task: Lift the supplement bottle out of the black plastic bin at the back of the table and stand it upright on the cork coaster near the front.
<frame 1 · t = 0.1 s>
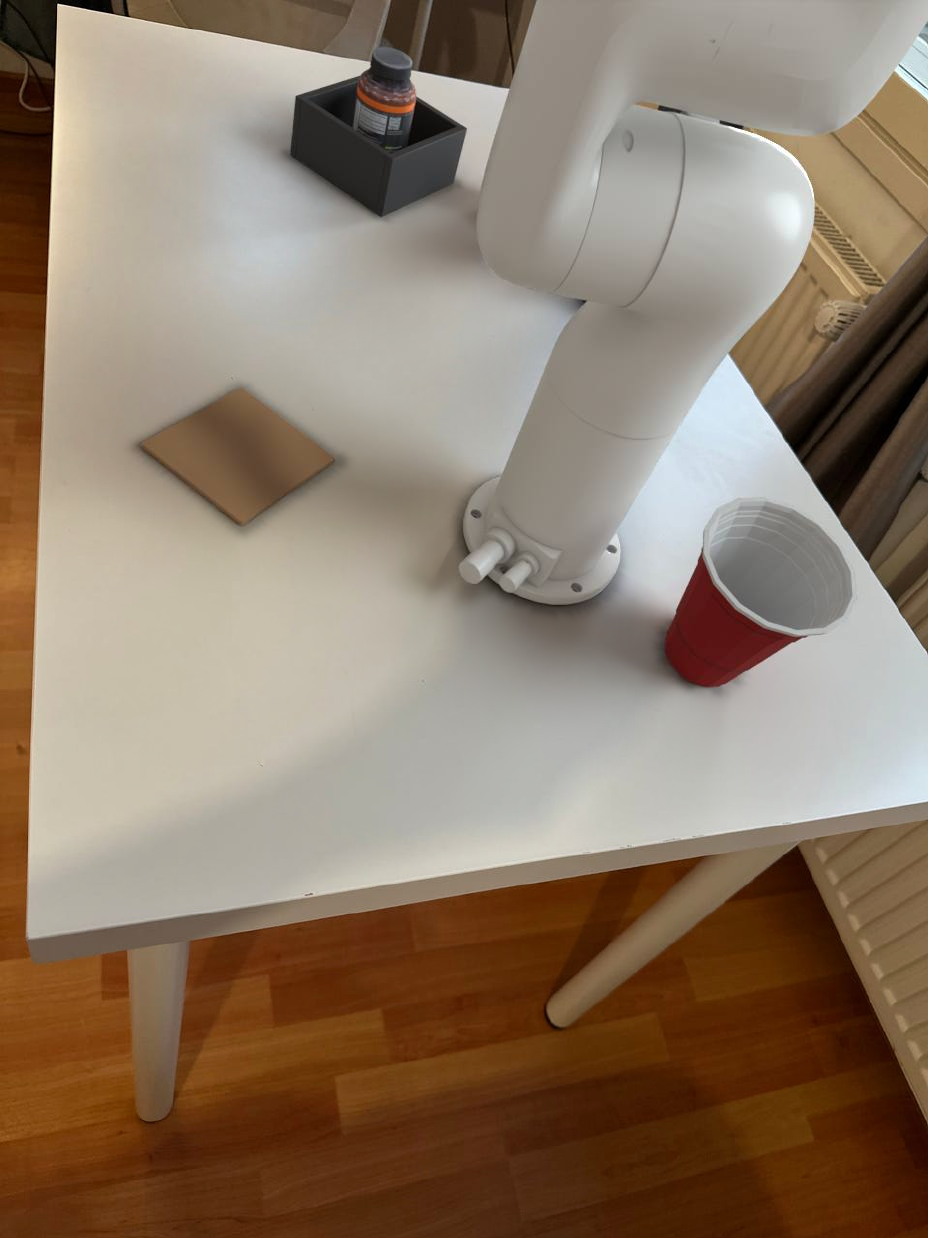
pepper mill: (519, 223, 95), on the table
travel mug: (613, 309, 90), on the table
coaster: (241, 454, 66), on the table
bin: (373, 169, 94), on the table
supplement bottle: (373, 170, 94), resting in bin
plastic cup: (697, 658, 66), on the table
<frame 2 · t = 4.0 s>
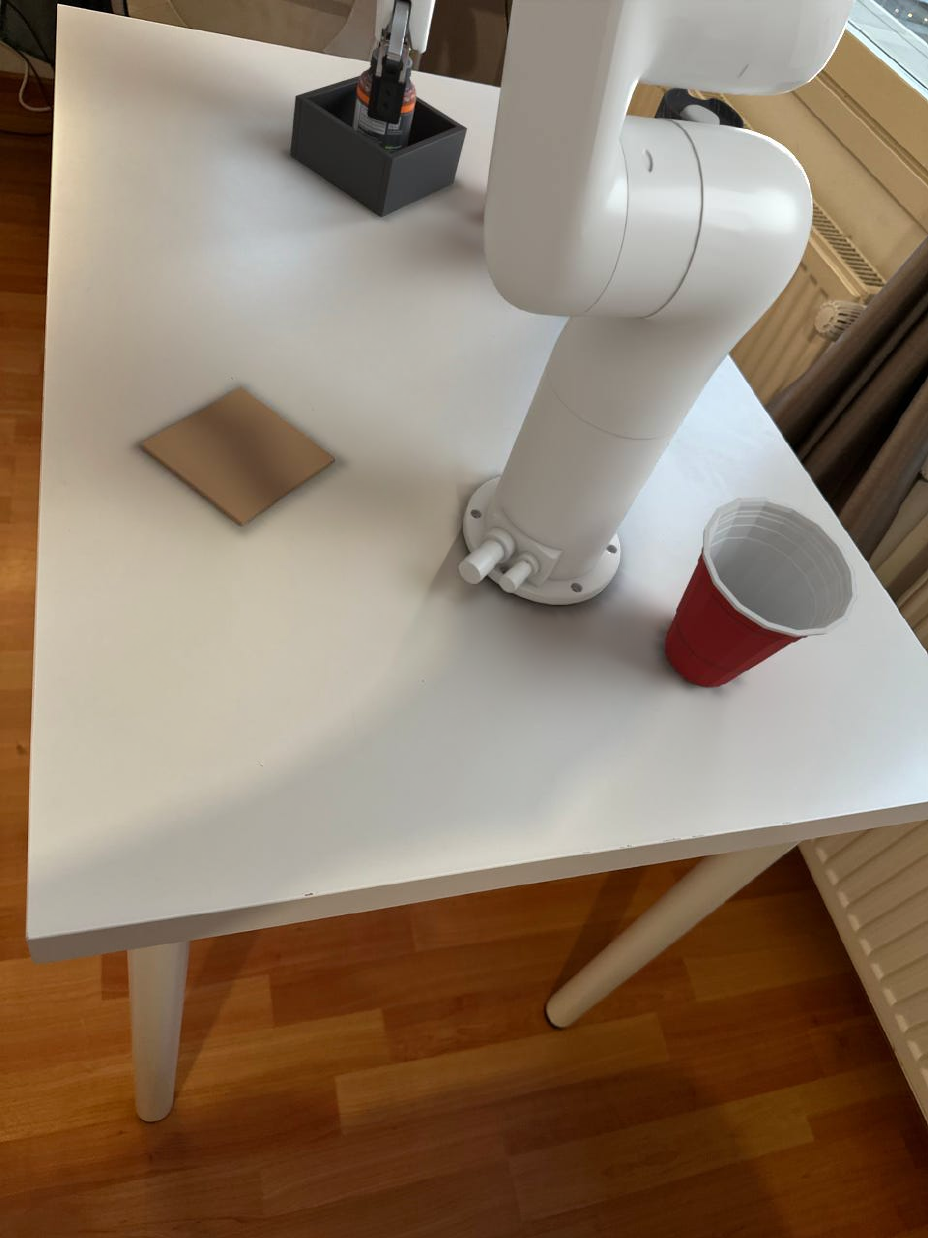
hand: (385, 102, 88), 7 cm above the table, tool pointing down, fingers closed on supplement bottle, 6 cm apart
supplement bottle: (373, 170, 94), resting in bin, touching gripper
everything else where it was.
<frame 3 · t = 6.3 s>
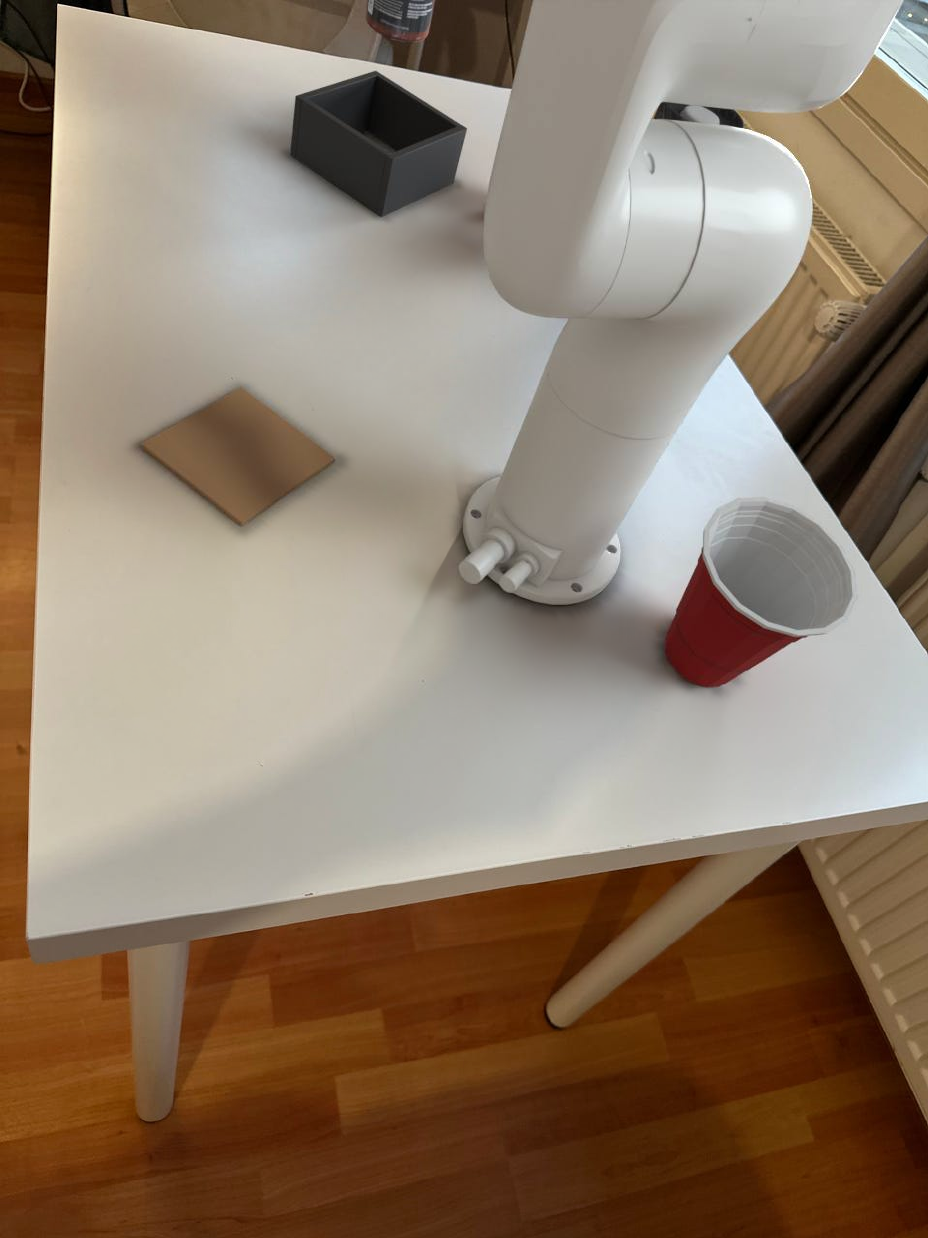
supplement bottle: (395, 32, 81), point 14 cm above the table, touching gripper
everything else where it was.
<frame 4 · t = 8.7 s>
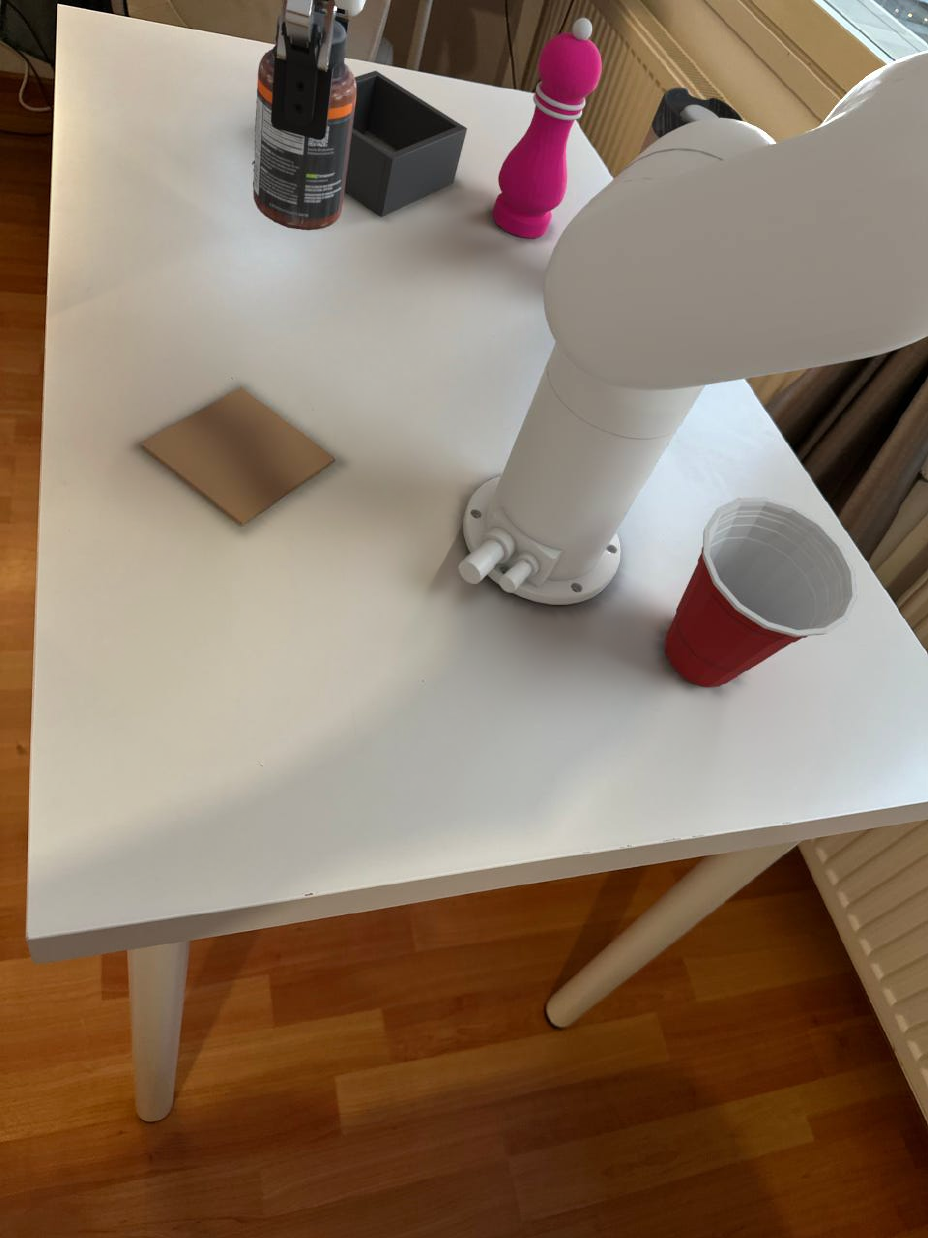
hand: (307, 103, 54), 22 cm above the table, tool pointing down, fingers closed on supplement bottle, 6 cm apart
supplement bottle: (296, 211, 59), point 15 cm above the table, touching gripper
everything else where it was.
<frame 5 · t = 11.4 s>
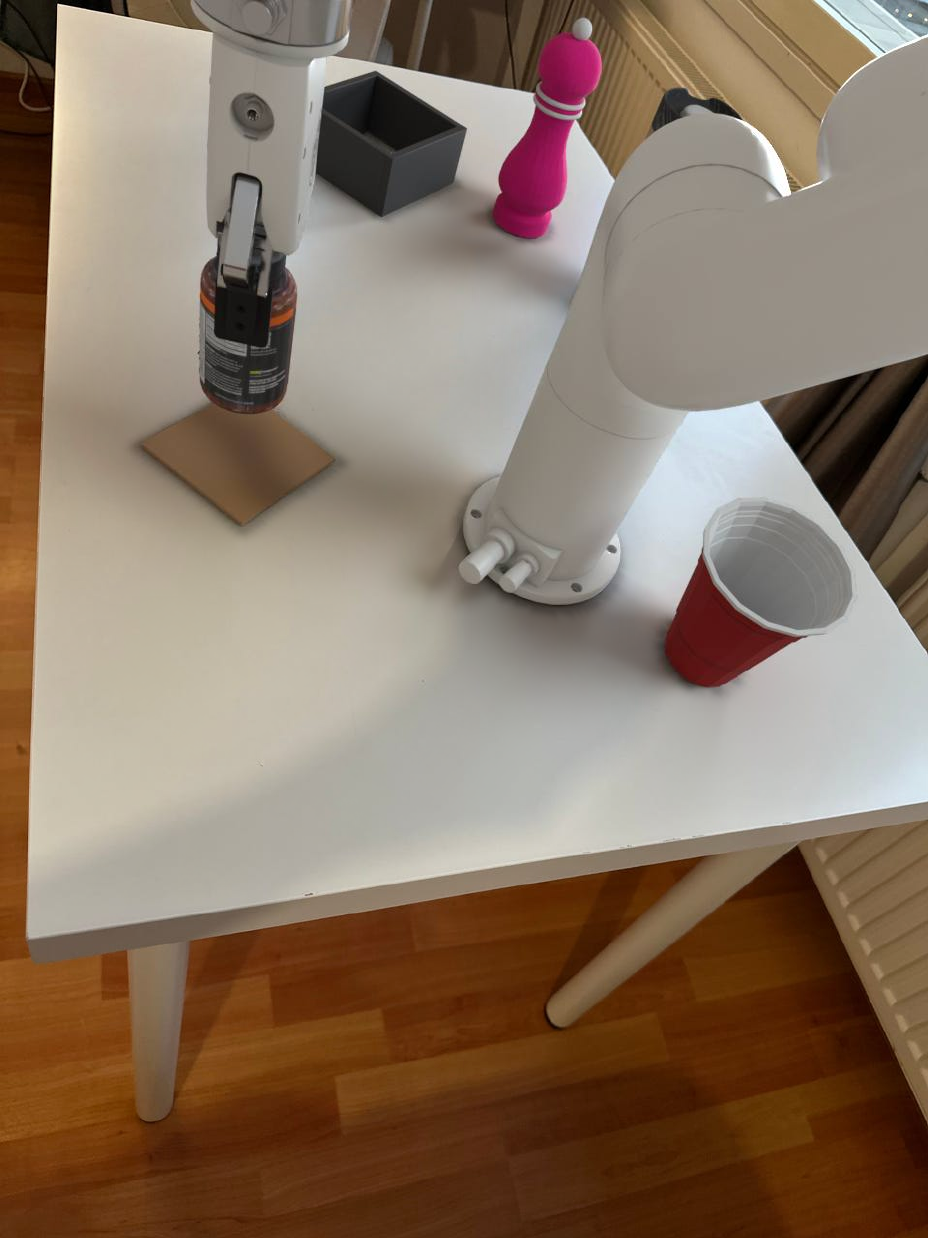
hand: (250, 305, 55), 13 cm above the table, tool pointing down, fingers closed on supplement bottle, 6 cm apart
supplement bottle: (242, 391, 61), point 6 cm above the table, touching gripper
everything else where it was.
when the fingers open (7 cm above the table, at t = 13.3 s): supplement bottle stays where it is, resting on coaster.
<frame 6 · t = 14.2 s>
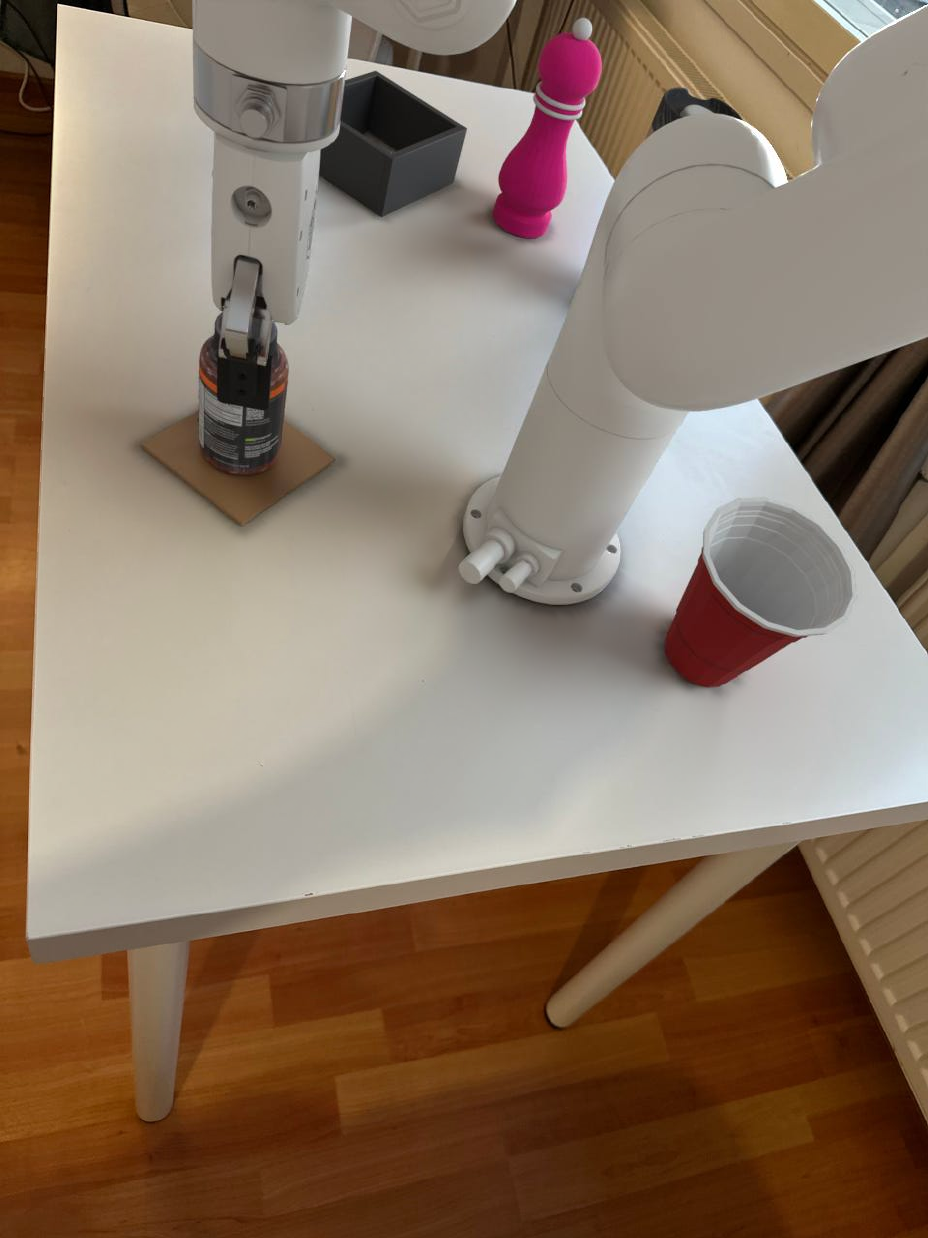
hand: (255, 355, 58), 9 cm above the table, tool pointing down, fingers open, 9 cm apart
supplement bottle: (239, 452, 66), resting on coaster
everything else where it was.
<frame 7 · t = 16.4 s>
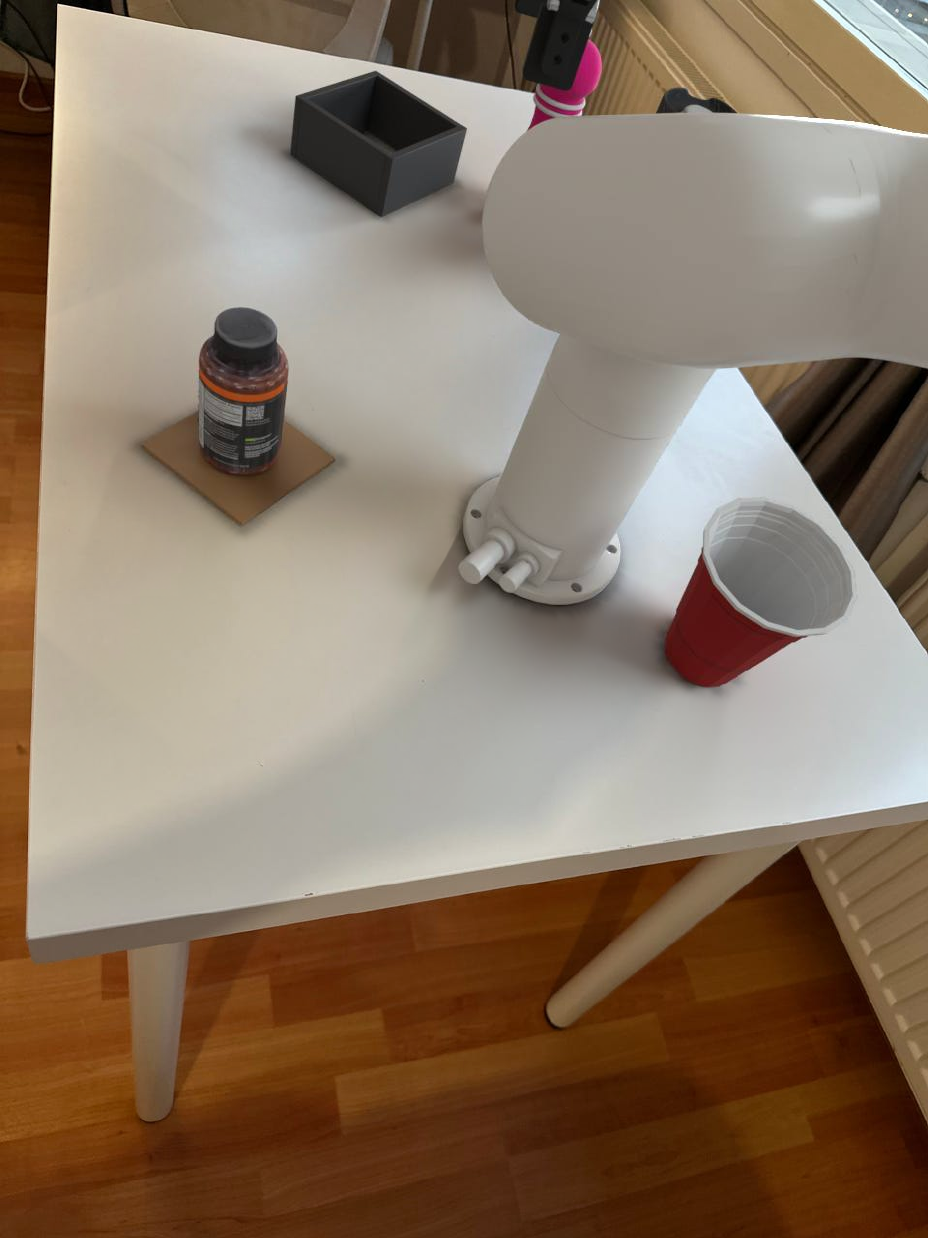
hand: (540, 47, 57), 27 cm above the table, tool pointing down, fingers open, 9 cm apart
nothing on the table moved.
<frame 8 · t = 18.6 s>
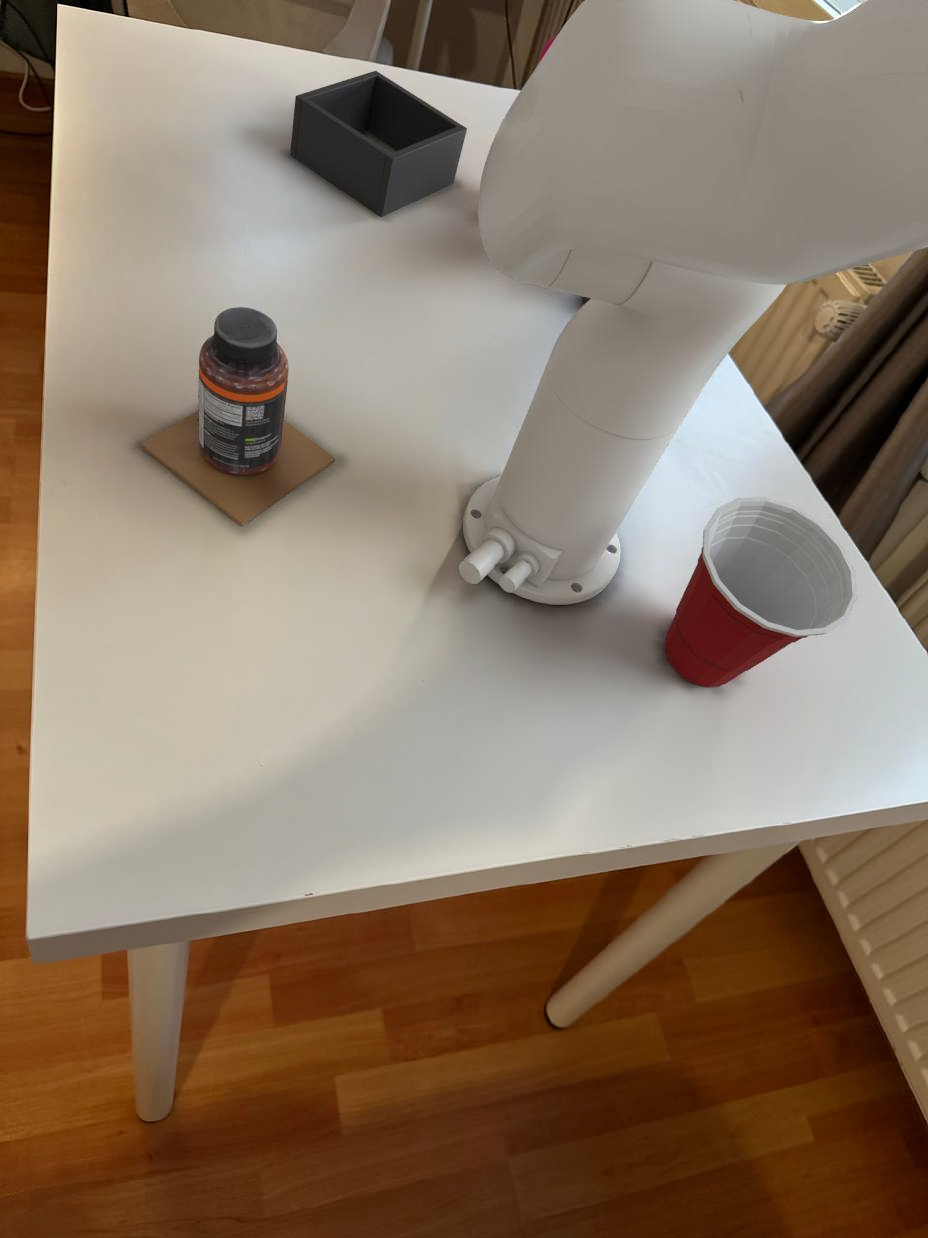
hand: (647, 8, 61), 28 cm above the table, tool pointing down, fingers open, 9 cm apart
nothing on the table moved.
at the end: supplement bottle inside the target area on the coaster (0.1 cm from its centre), point 0.2 cm above the coaster's base; supplement bottle tilted 0°; supplement bottle touching coaster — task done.
